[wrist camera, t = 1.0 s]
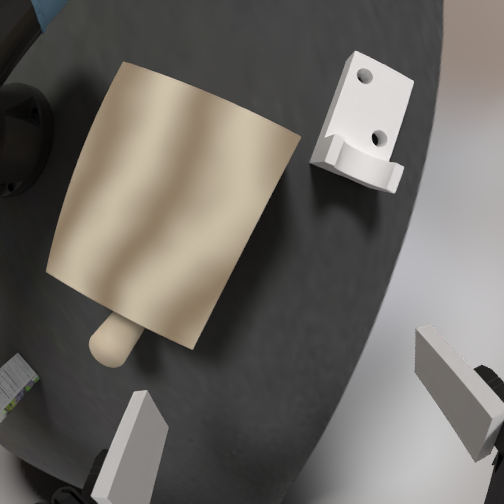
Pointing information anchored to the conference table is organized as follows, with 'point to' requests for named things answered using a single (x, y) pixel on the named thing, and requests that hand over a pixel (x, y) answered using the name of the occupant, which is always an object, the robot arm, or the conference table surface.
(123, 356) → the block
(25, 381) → the syrup box
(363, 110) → the bracket
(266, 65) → the conference table surface
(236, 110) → the wooden frame
